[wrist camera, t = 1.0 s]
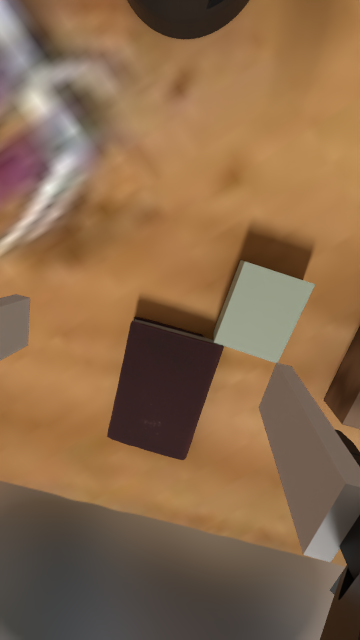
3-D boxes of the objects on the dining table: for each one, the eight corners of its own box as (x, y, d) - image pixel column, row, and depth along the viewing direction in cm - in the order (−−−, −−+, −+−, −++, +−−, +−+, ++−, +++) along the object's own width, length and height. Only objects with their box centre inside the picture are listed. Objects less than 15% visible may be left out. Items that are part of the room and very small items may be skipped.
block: (240, 259, 31) (244, 261, 27) (301, 280, 31) (315, 284, 27) (213, 331, 34) (213, 342, 30) (269, 350, 34) (277, 363, 30)
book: (223, 339, 34) (225, 348, 31) (186, 447, 40) (184, 464, 37) (136, 313, 35) (129, 320, 31) (112, 425, 40) (104, 439, 37)
